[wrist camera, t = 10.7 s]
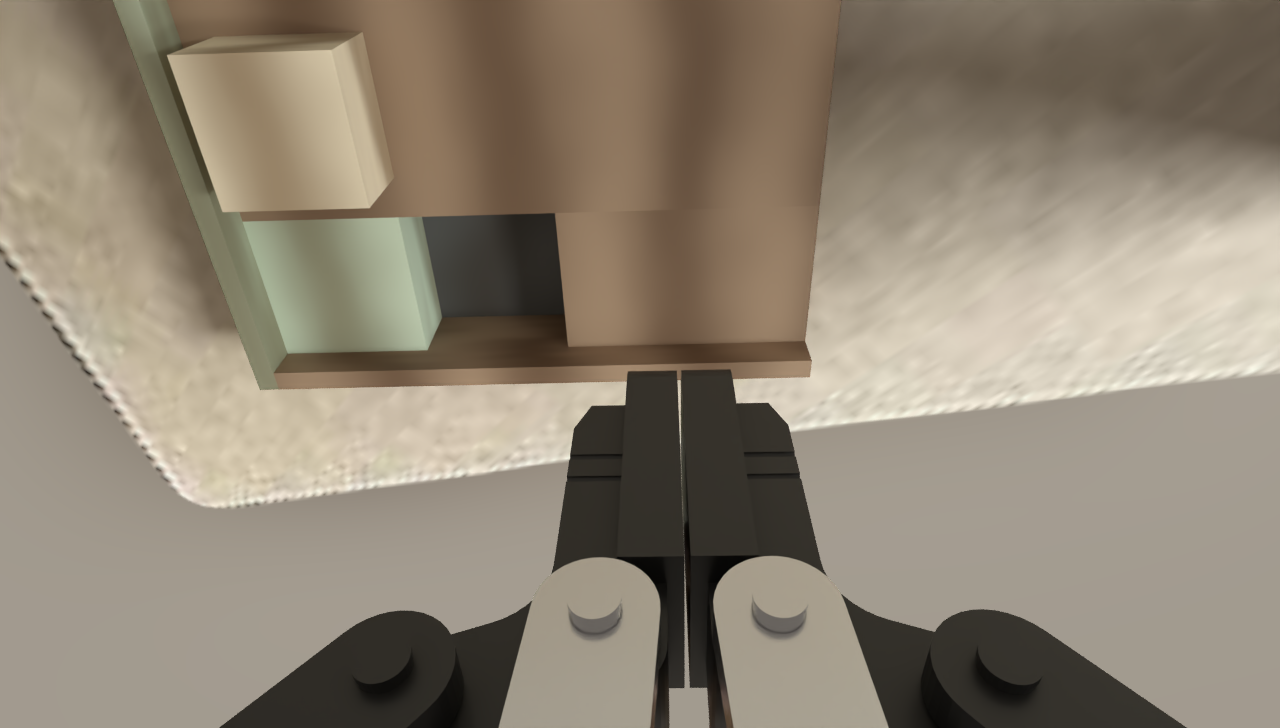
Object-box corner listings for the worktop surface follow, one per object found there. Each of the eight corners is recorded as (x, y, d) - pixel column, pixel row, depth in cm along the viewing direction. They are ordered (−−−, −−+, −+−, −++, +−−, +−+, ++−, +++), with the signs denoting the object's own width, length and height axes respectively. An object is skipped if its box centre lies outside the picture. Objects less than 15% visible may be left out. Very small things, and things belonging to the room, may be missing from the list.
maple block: (362, 31, 25) (331, 49, 22) (394, 177, 28) (369, 208, 25) (214, 36, 25) (167, 55, 23) (260, 181, 28) (222, 212, 25)
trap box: (849, -298, 23) (890, -331, 19) (791, 321, 35) (809, 377, 31) (105, -268, 23) (1, -294, 19) (301, 333, 35) (260, 389, 31)
